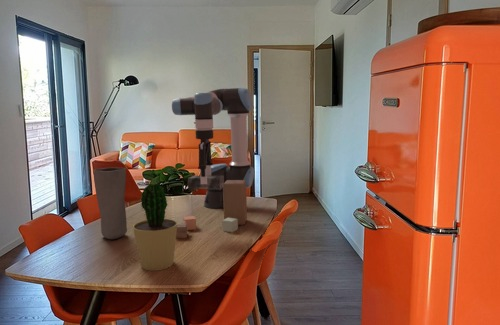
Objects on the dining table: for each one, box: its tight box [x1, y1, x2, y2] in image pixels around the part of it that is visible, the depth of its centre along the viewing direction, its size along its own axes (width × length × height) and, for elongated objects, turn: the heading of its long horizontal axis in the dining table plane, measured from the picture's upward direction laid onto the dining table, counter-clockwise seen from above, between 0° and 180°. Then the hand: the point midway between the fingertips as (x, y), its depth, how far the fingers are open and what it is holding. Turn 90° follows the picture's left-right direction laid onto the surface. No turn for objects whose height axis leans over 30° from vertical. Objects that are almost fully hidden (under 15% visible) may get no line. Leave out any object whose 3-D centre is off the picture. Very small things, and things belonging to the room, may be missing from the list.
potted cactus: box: [132, 183, 178, 271], centre depth 147 cm, size 15×15×30 cm
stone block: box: [187, 175, 224, 190], centre depth 181 cm, size 9×14×5 cm, turn 79°
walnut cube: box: [176, 223, 188, 239], centre depth 180 cm, size 5×5×5 cm
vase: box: [93, 167, 128, 240], centre depth 178 cm, size 12×12×30 cm
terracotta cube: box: [182, 215, 197, 231], centre depth 192 cm, size 5×5×5 cm
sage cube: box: [221, 218, 239, 233], centre depth 188 cm, size 5×5×5 cm
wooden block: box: [223, 180, 248, 226], centre depth 199 cm, size 10×10×20 cm
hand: (206, 181), depth 180 cm, fingers closed on stone block, 8 cm apart
